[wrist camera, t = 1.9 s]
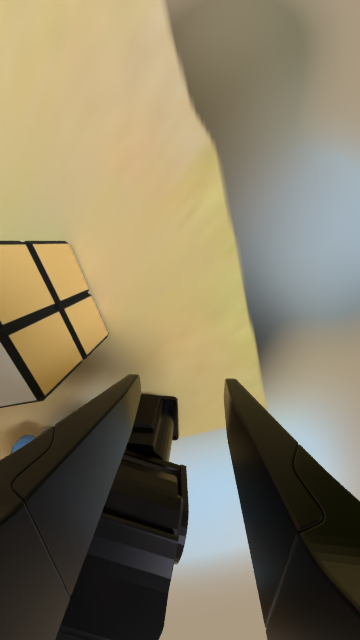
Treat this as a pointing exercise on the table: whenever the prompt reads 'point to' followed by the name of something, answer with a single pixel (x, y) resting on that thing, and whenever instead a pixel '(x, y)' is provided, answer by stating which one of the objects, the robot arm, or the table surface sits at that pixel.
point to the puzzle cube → (42, 319)
